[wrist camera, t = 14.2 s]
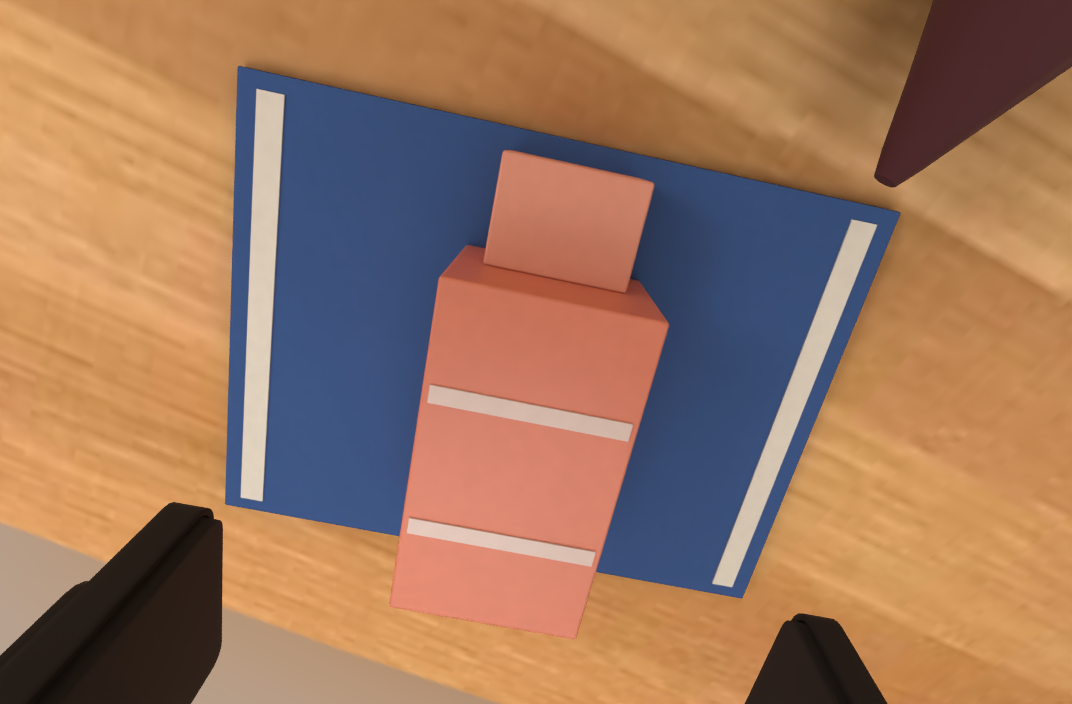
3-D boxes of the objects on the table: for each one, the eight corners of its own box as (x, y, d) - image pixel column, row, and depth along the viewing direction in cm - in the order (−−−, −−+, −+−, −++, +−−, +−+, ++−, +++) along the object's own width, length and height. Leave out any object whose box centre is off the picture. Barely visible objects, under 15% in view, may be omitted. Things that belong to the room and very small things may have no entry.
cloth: (243, 67, 17) (235, 64, 16) (894, 211, 18) (903, 212, 17) (230, 498, 22) (223, 505, 21) (739, 591, 23) (743, 600, 22)
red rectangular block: (482, 143, 17) (458, 141, 12) (666, 183, 17) (709, 196, 13) (422, 510, 21) (387, 609, 17) (569, 537, 21) (576, 642, 17)
